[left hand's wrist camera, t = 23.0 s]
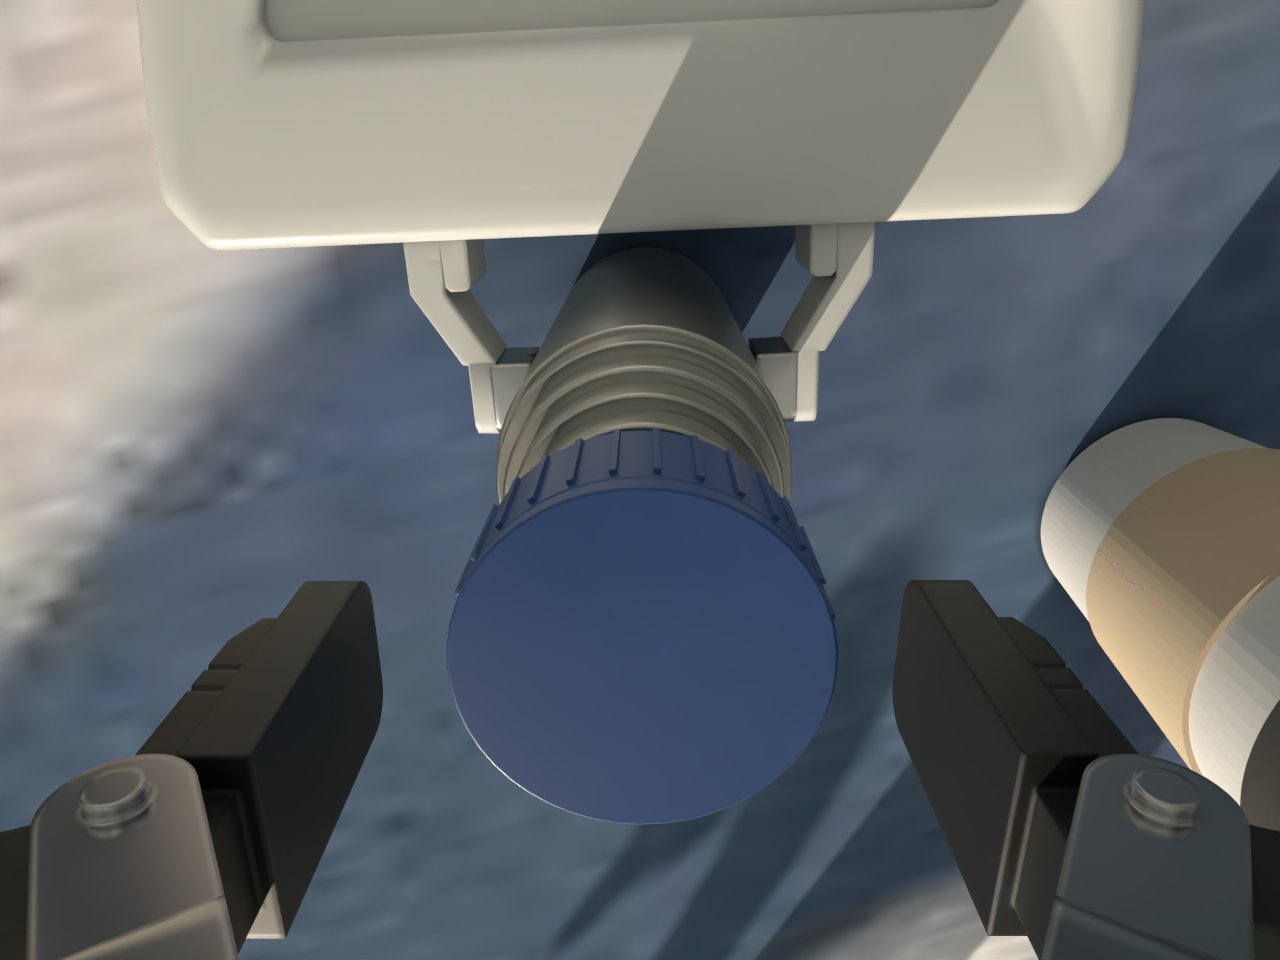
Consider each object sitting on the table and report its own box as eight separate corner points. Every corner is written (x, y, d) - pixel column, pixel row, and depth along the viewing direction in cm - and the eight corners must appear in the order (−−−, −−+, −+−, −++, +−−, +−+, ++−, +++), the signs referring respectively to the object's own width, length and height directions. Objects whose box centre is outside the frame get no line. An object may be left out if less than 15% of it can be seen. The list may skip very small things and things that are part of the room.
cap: (838, 691, 12) (872, 788, 10) (530, 755, 13) (509, 860, 11) (776, 387, 11) (802, 437, 9) (427, 472, 11) (383, 536, 9)
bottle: (569, 235, 26) (430, 395, 9) (744, 259, 27) (915, 459, 10) (552, 404, 28) (408, 793, 11) (715, 426, 29) (816, 840, 12)
